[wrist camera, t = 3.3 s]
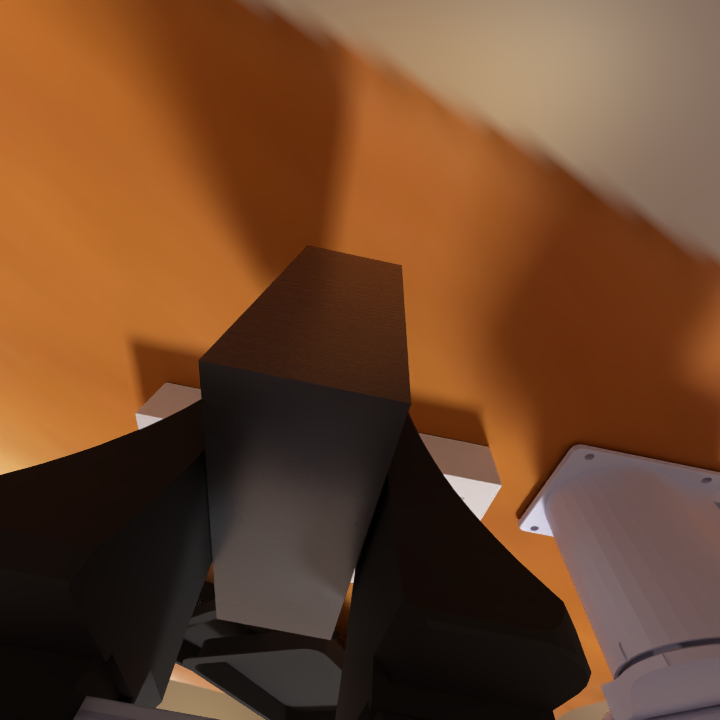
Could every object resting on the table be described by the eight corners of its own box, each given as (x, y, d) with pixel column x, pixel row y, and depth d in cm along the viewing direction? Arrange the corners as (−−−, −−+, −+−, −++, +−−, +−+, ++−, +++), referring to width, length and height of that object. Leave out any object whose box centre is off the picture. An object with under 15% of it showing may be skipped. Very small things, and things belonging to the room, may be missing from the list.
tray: (131, 631, 40) (98, 691, 35) (141, 522, 28) (94, 591, 24) (369, 692, 44) (367, 753, 39) (465, 618, 32) (477, 693, 28)
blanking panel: (401, 265, 11) (411, 403, 5) (356, 445, 15) (330, 640, 9) (307, 245, 11) (198, 360, 5) (288, 431, 15) (216, 618, 9)
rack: (489, 446, 21) (503, 488, 18) (429, 558, 27) (432, 601, 25) (166, 382, 20) (132, 415, 18) (183, 511, 27) (160, 550, 24)
